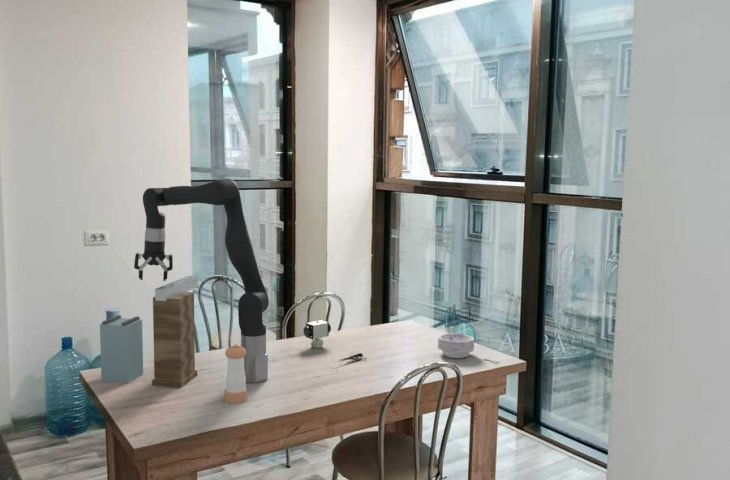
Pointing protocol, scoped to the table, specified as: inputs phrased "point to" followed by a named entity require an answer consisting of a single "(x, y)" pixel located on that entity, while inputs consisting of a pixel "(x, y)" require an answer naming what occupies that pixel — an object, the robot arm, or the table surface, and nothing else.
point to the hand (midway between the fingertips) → (153, 280)
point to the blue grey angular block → (121, 349)
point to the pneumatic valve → (317, 332)
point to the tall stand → (174, 341)
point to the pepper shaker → (235, 375)
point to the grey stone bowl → (456, 345)
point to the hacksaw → (355, 358)
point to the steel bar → (176, 288)
